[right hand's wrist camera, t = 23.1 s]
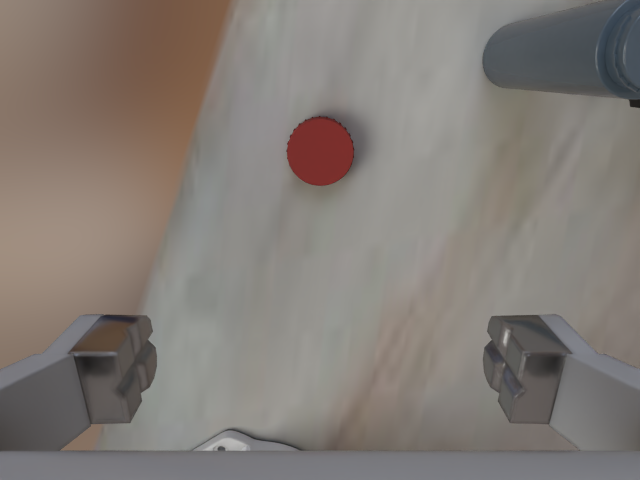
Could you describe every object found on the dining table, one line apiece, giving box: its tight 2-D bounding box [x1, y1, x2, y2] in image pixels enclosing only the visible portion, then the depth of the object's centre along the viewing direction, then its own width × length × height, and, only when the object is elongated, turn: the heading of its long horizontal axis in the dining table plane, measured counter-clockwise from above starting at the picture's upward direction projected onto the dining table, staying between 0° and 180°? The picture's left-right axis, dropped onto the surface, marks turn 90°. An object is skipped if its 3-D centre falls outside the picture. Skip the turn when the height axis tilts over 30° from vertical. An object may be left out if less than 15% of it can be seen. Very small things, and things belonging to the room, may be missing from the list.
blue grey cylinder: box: [483, 0, 640, 100], centre depth 26 cm, size 5×5×16 cm
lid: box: [287, 116, 354, 186], centre depth 35 cm, size 5×5×2 cm
